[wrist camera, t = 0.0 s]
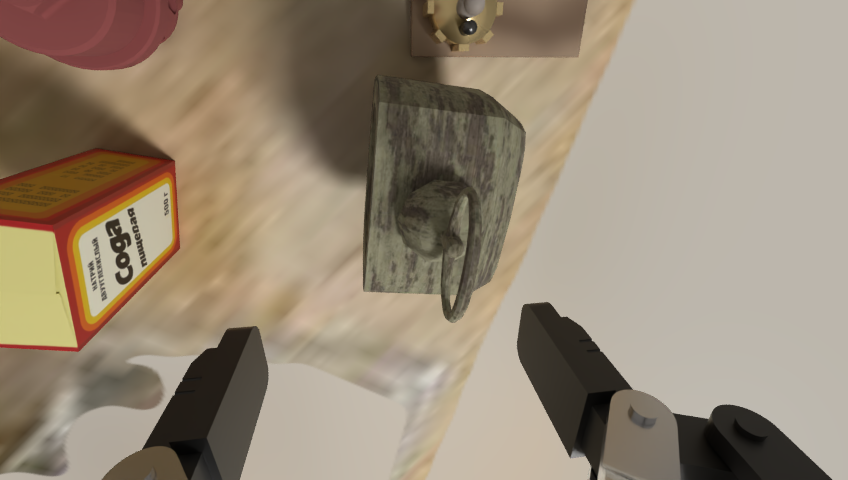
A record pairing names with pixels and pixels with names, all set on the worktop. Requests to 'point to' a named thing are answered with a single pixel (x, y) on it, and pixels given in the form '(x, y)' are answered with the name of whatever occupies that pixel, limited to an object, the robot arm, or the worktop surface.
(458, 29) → the gear
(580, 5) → the gear board
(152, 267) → the baking soda box
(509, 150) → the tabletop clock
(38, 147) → the worktop surface
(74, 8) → the mechanical component
